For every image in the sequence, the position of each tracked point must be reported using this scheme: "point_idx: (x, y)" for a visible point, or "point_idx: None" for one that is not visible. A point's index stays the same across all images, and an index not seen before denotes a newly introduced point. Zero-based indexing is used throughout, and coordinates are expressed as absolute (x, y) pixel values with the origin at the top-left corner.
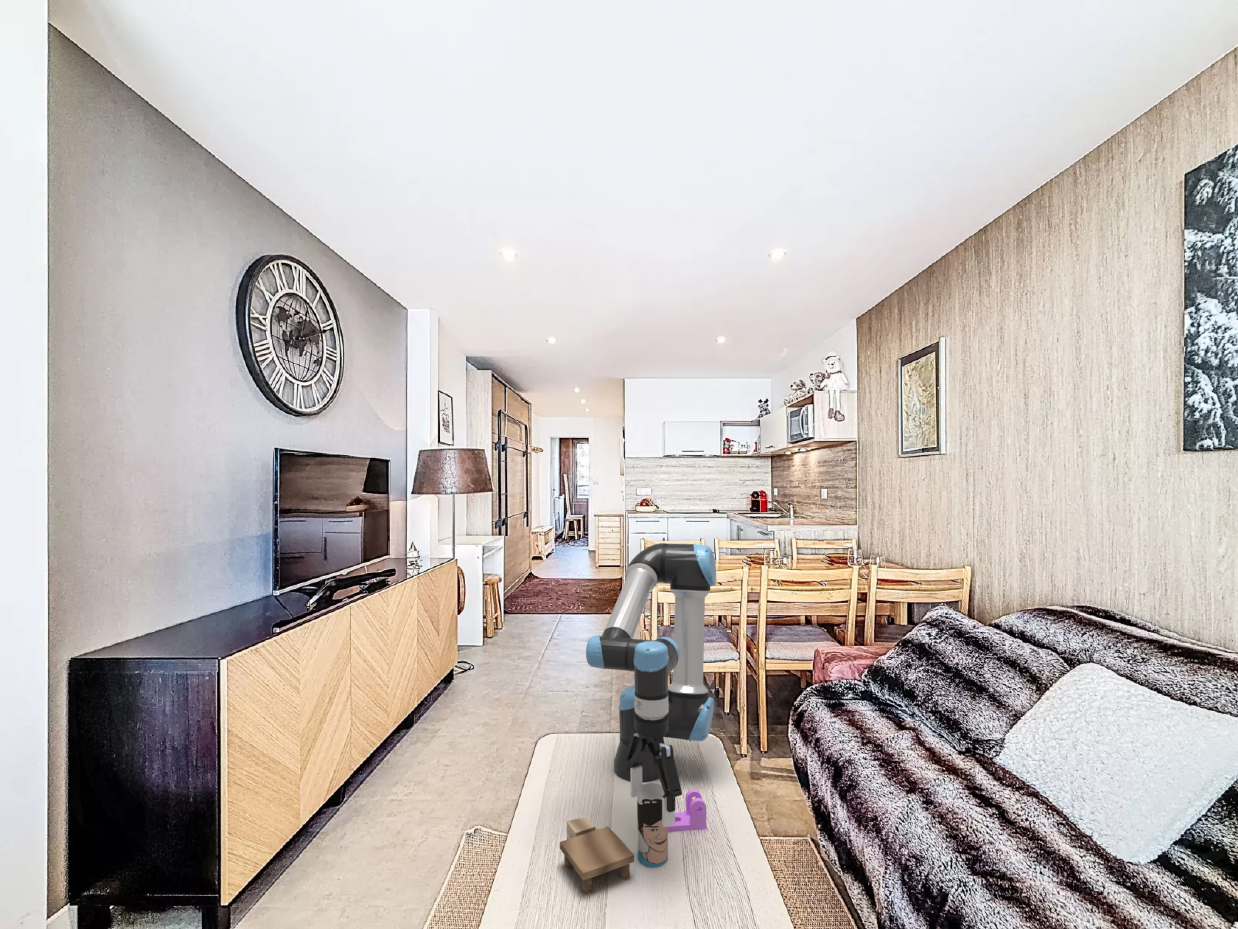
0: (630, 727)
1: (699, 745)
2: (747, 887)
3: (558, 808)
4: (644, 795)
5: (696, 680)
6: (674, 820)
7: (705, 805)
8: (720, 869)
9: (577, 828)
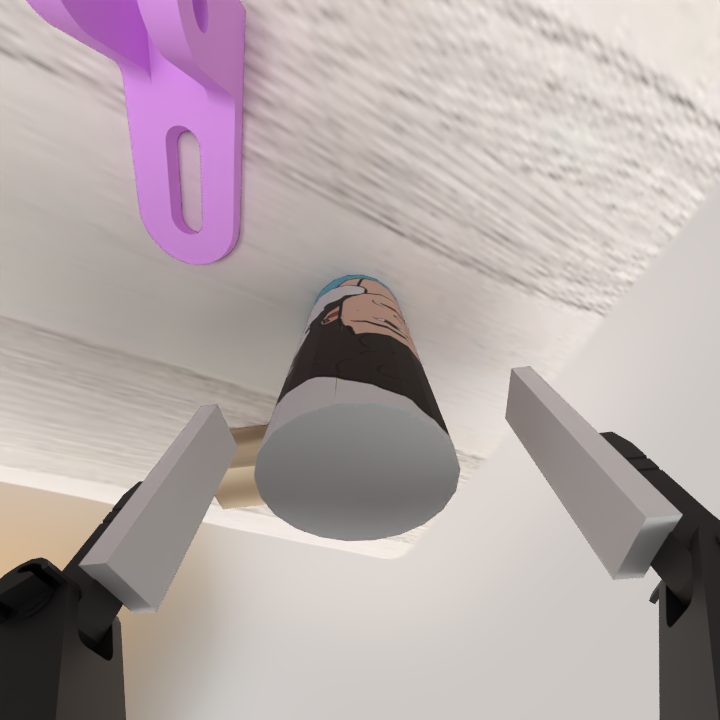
0: None
1: None
2: (647, 66)
3: (92, 454)
4: (388, 524)
5: None
6: (537, 377)
7: None
8: (508, 121)
9: (257, 496)
